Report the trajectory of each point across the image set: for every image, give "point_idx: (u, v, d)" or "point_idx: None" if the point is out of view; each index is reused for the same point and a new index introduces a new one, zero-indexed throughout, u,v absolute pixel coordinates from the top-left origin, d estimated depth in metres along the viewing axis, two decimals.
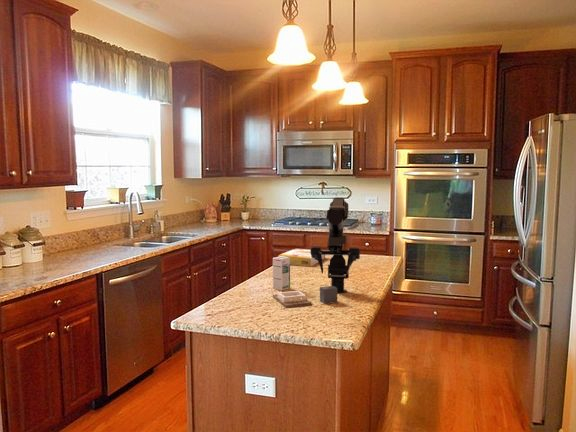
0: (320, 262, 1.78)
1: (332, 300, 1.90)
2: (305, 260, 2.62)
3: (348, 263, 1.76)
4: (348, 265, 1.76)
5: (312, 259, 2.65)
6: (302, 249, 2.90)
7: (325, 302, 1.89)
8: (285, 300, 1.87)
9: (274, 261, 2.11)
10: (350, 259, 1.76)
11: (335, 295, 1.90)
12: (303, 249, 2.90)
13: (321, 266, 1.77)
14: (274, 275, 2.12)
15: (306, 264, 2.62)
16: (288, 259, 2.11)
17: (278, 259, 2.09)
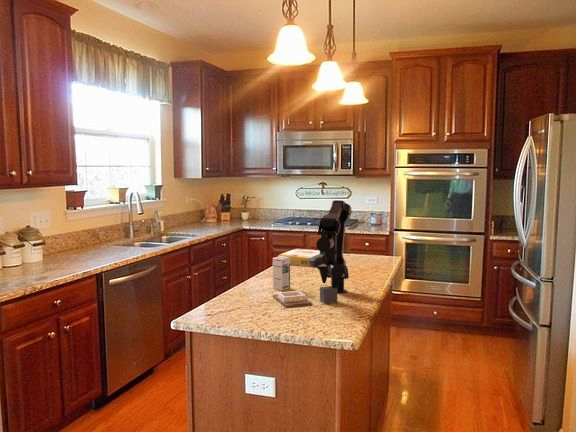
0: (320, 273, 1.95)
1: (332, 300, 1.90)
2: (304, 260, 2.62)
3: (331, 279, 1.86)
4: (332, 281, 1.86)
5: None
6: (302, 249, 2.90)
7: (325, 302, 1.89)
8: (285, 300, 1.87)
9: (274, 261, 2.11)
10: (331, 276, 1.85)
11: (335, 295, 1.90)
12: (303, 249, 2.90)
13: (321, 277, 1.95)
14: (274, 275, 2.12)
15: (306, 264, 2.62)
16: (288, 258, 2.11)
17: (278, 259, 2.09)
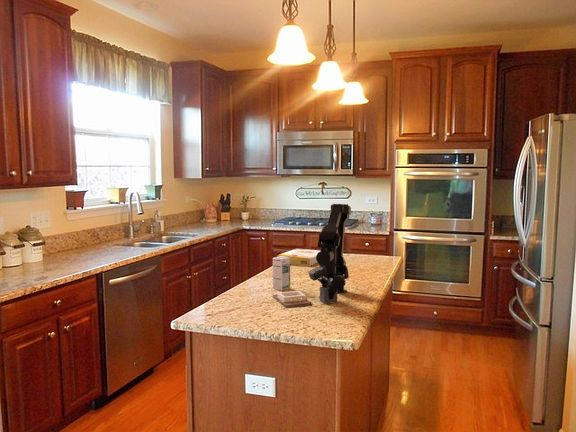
0: None
1: (332, 300, 1.90)
2: (304, 260, 2.62)
3: (328, 290, 1.88)
4: (329, 292, 1.88)
5: (311, 259, 2.64)
6: (303, 249, 2.90)
7: (325, 302, 1.89)
8: (285, 300, 1.87)
9: (274, 261, 2.11)
10: (328, 287, 1.87)
11: (335, 295, 1.90)
12: (304, 249, 2.90)
13: None
14: (274, 275, 2.12)
15: (305, 264, 2.62)
16: (288, 259, 2.11)
17: (278, 259, 2.09)
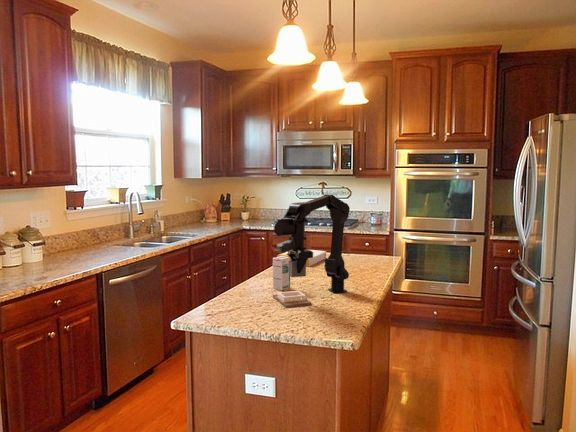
0: None
1: (300, 273, 1.89)
2: None
3: (297, 264, 1.88)
4: (297, 266, 1.88)
5: (311, 259, 2.64)
6: None
7: (293, 275, 1.88)
8: (285, 300, 1.87)
9: (274, 261, 2.11)
10: (296, 261, 1.87)
11: (303, 269, 1.90)
12: None
13: None
14: (274, 275, 2.12)
15: None
16: (288, 259, 2.11)
17: (278, 259, 2.09)
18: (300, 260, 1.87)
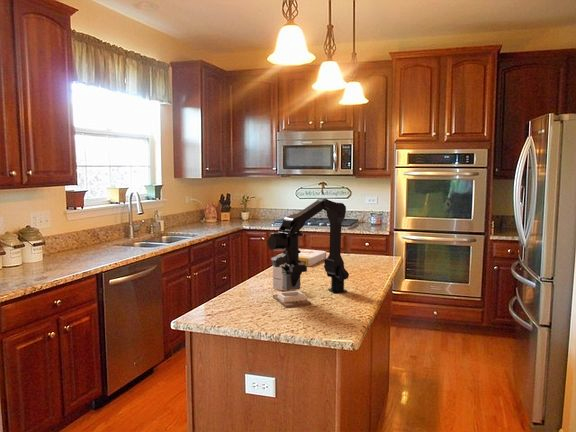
0: None
1: (295, 287, 1.90)
2: (302, 260, 2.62)
3: (291, 277, 1.89)
4: (291, 279, 1.89)
5: (310, 259, 2.64)
6: (303, 249, 2.90)
7: (288, 289, 1.89)
8: (285, 300, 1.87)
9: None
10: (291, 274, 1.88)
11: (298, 282, 1.91)
12: (304, 249, 2.90)
13: None
14: (274, 275, 2.12)
15: (304, 264, 2.62)
16: None
17: None
18: (294, 273, 1.88)
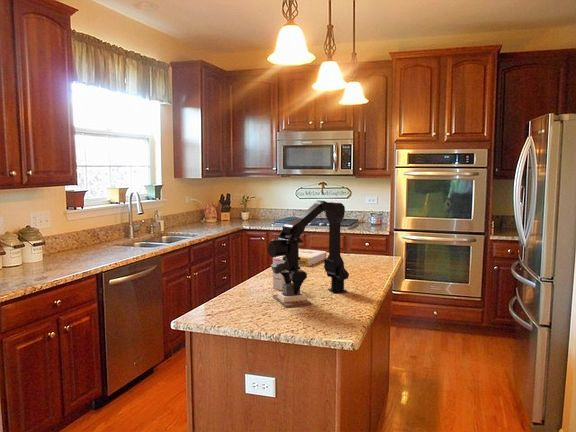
0: (284, 279, 1.96)
1: None
2: (302, 260, 2.62)
3: (293, 285, 1.87)
4: (293, 287, 1.87)
5: (310, 259, 2.64)
6: (304, 249, 2.90)
7: None
8: (285, 300, 1.87)
9: (274, 261, 2.11)
10: (293, 282, 1.86)
11: (298, 292, 1.91)
12: (305, 249, 2.90)
13: (285, 283, 1.96)
14: (274, 275, 2.12)
15: (303, 264, 2.62)
16: None
17: (278, 259, 2.09)
18: (296, 281, 1.86)
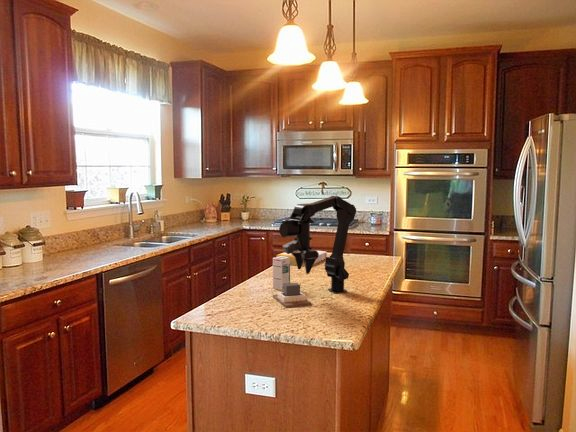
0: None
1: None
2: None
3: (305, 265, 1.90)
4: (305, 267, 1.90)
5: None
6: None
7: None
8: (285, 300, 1.87)
9: (274, 261, 2.11)
10: (305, 262, 1.89)
11: (298, 292, 1.91)
12: None
13: None
14: (274, 275, 2.12)
15: (303, 264, 2.62)
16: (288, 258, 2.11)
17: (278, 259, 2.09)
18: (308, 261, 1.90)
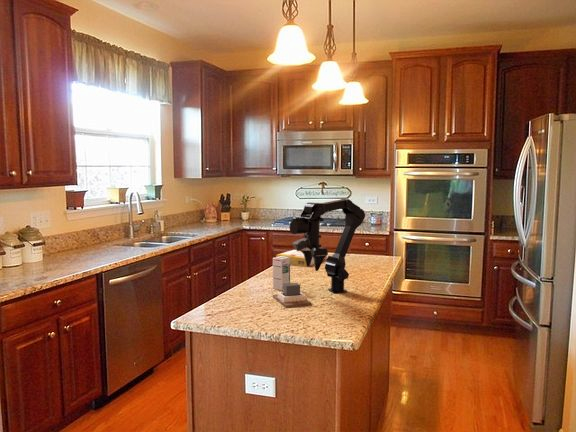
0: None
1: None
2: (301, 260, 2.62)
3: (314, 262, 1.93)
4: (315, 264, 1.93)
5: None
6: None
7: None
8: (285, 300, 1.87)
9: (274, 261, 2.11)
10: (314, 259, 1.92)
11: (298, 292, 1.91)
12: None
13: None
14: (274, 275, 2.12)
15: (302, 264, 2.62)
16: (288, 259, 2.11)
17: (278, 259, 2.09)
18: (318, 258, 1.93)
